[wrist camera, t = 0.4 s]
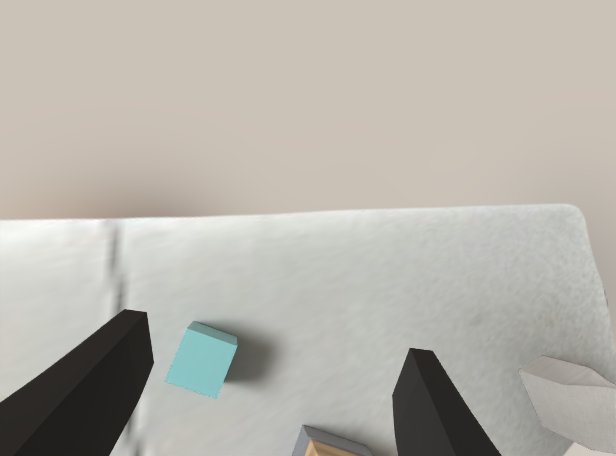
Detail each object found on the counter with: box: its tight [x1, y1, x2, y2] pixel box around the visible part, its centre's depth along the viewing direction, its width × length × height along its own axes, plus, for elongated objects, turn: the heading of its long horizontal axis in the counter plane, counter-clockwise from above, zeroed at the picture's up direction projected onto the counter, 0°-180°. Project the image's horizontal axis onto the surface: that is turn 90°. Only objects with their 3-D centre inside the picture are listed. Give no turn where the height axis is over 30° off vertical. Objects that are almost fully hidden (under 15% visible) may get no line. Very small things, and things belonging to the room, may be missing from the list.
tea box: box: [518, 356, 616, 454], centre depth 37 cm, size 4×7×10 cm, turn 23°
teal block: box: [164, 321, 237, 399], centre depth 33 cm, size 4×4×5 cm
